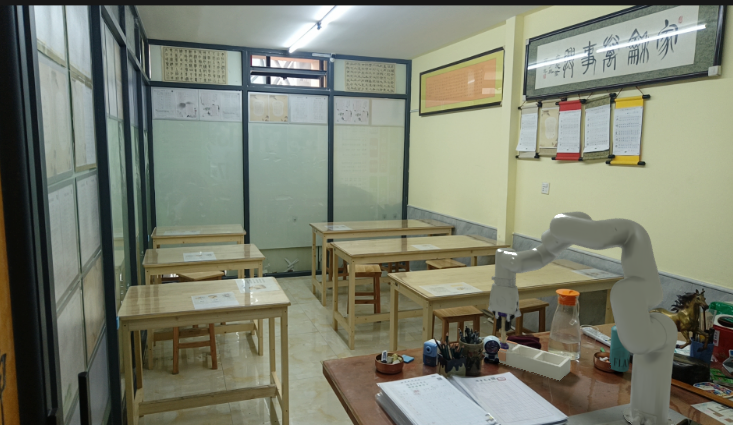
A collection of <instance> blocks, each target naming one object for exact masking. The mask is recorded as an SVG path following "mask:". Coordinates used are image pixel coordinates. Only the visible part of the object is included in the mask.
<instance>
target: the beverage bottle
mask: <svg viewBox="0 0 733 425" xmlns="http://www.w3.org/2000/svg"><path fill="white" fill-rule="evenodd" d="M608 356H609V360H608V361H609V362H610V363H611V364H610V365H611V368H610V369H611V370H613V371H616V372H621V373H624V372H628V371H629V369H630V364H631V360H630V359H631V352H629V351H628V350H627V349H626V348H625V347H624V346H623V345H622V343H621V341H620V339H619V336H618V333H617V329H616V324H615V325H613V326H612V327H611V329H610V348H609V355H608ZM609 362H608V363H609Z"/></svg>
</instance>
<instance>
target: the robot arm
mask: <svg viewBox="0 0 733 425" xmlns="http://www.w3.org/2000/svg"><path fill="white" fill-rule="evenodd" d="M540 236H541V237H540V240H541V243H540V244H538V245H537V246H536V247H534V248H532V249H527V250H522V251H521V250H520V251H517V250H516V249H514V248H510V247H499V248H497V249H496V250H495V255H494V259H495V262H494V275H493V276H491V280H493V283H492V284H491V288H490V294H489V302H488V307H487V310H488V311H489V312H491V313H492V314H493V315H494V317H495V319H496V320H495V321H496V322H495V323H496V325H495V326H496V330H498V331H499V330H500V329H501V328H502V326H501V324H502V316H499V315H498V312H501V313H506V314H507V318H506V321H505V331H506V333H507V332H509V331H510V330H512V320H513V319H515V318H518V317H519V318H520V317H521V316H522V313H521V310H520V297H519V296H520V294H519V290H518V289H519V288H518V286H517V274H523V273H528V272H533V271H537V270H538V271H539V270H541V269H542V268H544V267H546V266H548V265H549V264H551V263H553V261H555V260H556V259H557V258H558V257H559V256H560V254H561V253H563V252H564V251H565V250H567V249H569V248H570V247H572V246H573V245H574V246H578V247H581V248H585V249H589V250H595V251H603V250H608V249H613V248H620V249H621V256H620V257H621V258H620V263H621V268H622V272H623V278H622V279H619V280H618V281H616V282H615V283H614V284H613V286H611V289H610V292H609V294H610V295H609V300H610V301H609V302H610V306H611V310H612V315H613V319H614V324H615V325H616V329H617V333H618V336H619V339H620V341H621V343H622V345H623V346H624V347H625V348H626V349H627V350H628V351H629V352H630V354H633V356H632V368H631V381H630V382H631V383H630V397H629V398H630V399H629V400H630V401H629V407H626V408H625V409H624V410H623V414H622V415H624V417H625V419H627V420H628V421H630V422H631V423H632V424H633V425H671V424H674V423H675V422H674V420H673V419H672V418H671V417H670V416H669V414H670V413H669V412H670V400H671V399H670V398H671V388H672V387H671V386H672V385H671V384H672V374H673V363H674V357H675V351H676V350H675V349H676V347H677V343H678V338H679V337H678V336H679V335H678V334H679V332H678V328H677V325H676V323H675V321H674V320H673V319H672V318H671V317H669V316H668V315H667V314H664V313H662V312H654V311H653V312H649V310H650V309H653V308H655V307H658V306H659V305H660V304H661V303H662V302H663V300H664V291H663V286H662V282H661V277H660V274H659V271H658V270H659V269H658V266H657V263H656V260H655V255H654V250H653V244H652V240H651V238H650V235H649V233H648V231H647V230H646V228H645V227H644V226H642V225H641V224H640V223H638V222H637V221H635V220H632V219H629V218H619V217H618V218H617V217H615V218H608V219H601V220H600V219H599V220H594V219H592V217H591V216H590V215H589V214H588V213H586V212H584V211H568V212H561V213H558V214H555V216H554V217H553V218H552V219H551V220H550V223H549V228H548V229H546V230H545V231H543V232H542V234H541V235H540ZM624 417H623V418H624ZM625 419H624V420H625Z"/></svg>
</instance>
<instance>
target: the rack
mask: <svg viewBox="0 0 733 425" xmlns="http://www.w3.org/2000/svg"><path fill="white" fill-rule="evenodd" d="M498 339H499V341H500V342H501V339H502V338H498ZM506 343H507V344H508V345H509V349H507V350H505V349H501V348H500V349H499V351H498V357H499V362H500V363H503V364H502V365H504V364H506V365H505V366H507V365H509V366H508V367H510V366H512V367H511V368H514V367H516V368H515V369H517V368H520V369H519V370H521V369H523V370H522V371H524V370H526V371H525V372H527V371H529V372H528V373H531V372H534V373H537V374H540V375H539V376H541V375H543V376H542V377H544V376H546V377H545V378H547V377H549V378H548V379H551V378H553V379H552V380H554V379H556V380H555V381H557V380H559V381H558V382H561V381H562V380H563V379H564V378H565V377H566V376H567V375H568V374H569V373H570V372H571V361H572V360H571V357H568V356H565V355H561V354H556V353H553V352H549V351H545V350H541V349H538V348H535V347H530V346H527V345H522V344H519V343H517V342H514V341H510V340H507V339H506ZM500 363H499V364H500ZM534 373H533V374H534ZM537 374H536V375H537ZM564 376H565V377H564ZM563 377H564V378H563ZM562 378H563V379H562ZM561 379H562V380H561ZM560 380H561V381H560Z"/></svg>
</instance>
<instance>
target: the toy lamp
mask: <svg viewBox="0 0 733 425" xmlns="http://www.w3.org/2000/svg"><path fill="white" fill-rule="evenodd" d="M498 315H499V316H501V317H502V324H501V326H502V328H501V333H500V334H501V336H500V339H501V342H500V344H501V349H505V350H507V349H509V345H508V344H507V343H506V340H507V332H506V331H505V321H506V320H507V314H506V313H501V312H498Z"/></svg>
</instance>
